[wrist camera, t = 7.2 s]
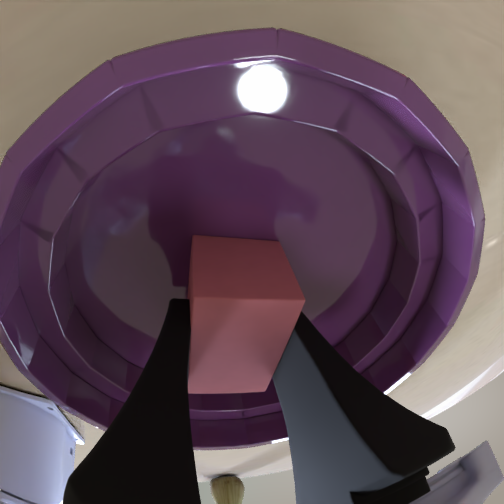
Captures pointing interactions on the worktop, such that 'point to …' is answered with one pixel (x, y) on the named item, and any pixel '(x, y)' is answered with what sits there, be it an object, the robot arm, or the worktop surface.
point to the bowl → (232, 215)
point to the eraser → (239, 313)
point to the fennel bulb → (227, 490)
